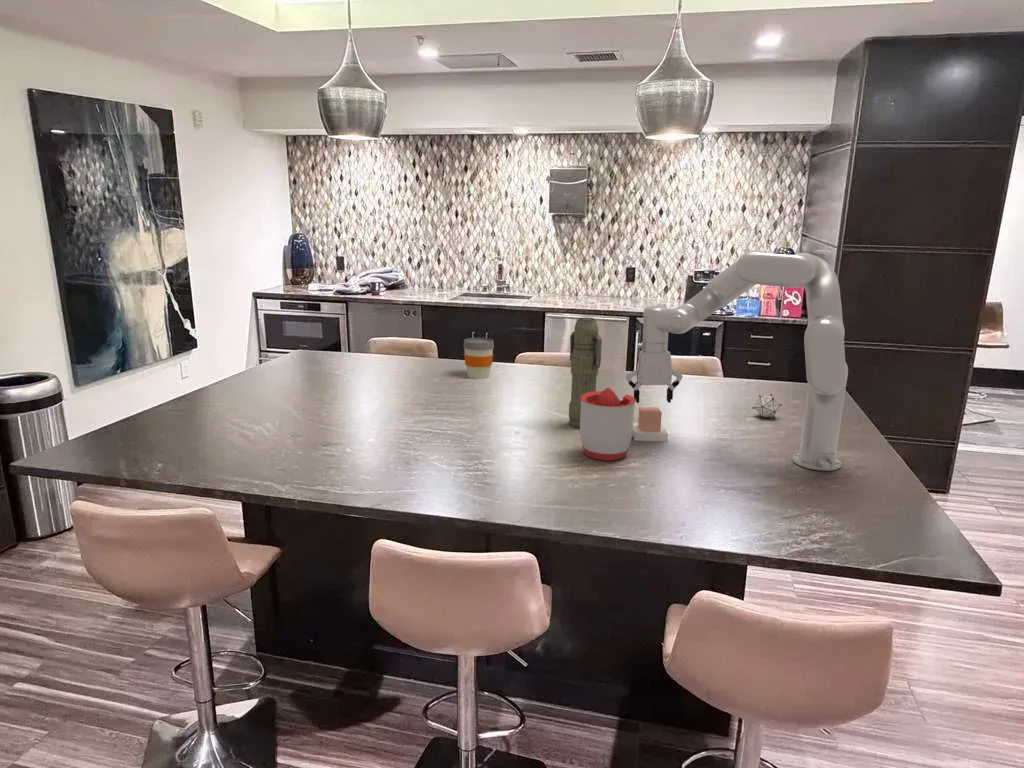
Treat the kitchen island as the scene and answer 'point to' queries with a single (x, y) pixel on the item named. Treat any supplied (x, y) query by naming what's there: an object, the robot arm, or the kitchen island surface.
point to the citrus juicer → (606, 424)
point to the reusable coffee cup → (478, 357)
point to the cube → (649, 419)
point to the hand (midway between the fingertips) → (652, 401)
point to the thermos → (583, 364)
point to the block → (649, 434)
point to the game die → (766, 406)
